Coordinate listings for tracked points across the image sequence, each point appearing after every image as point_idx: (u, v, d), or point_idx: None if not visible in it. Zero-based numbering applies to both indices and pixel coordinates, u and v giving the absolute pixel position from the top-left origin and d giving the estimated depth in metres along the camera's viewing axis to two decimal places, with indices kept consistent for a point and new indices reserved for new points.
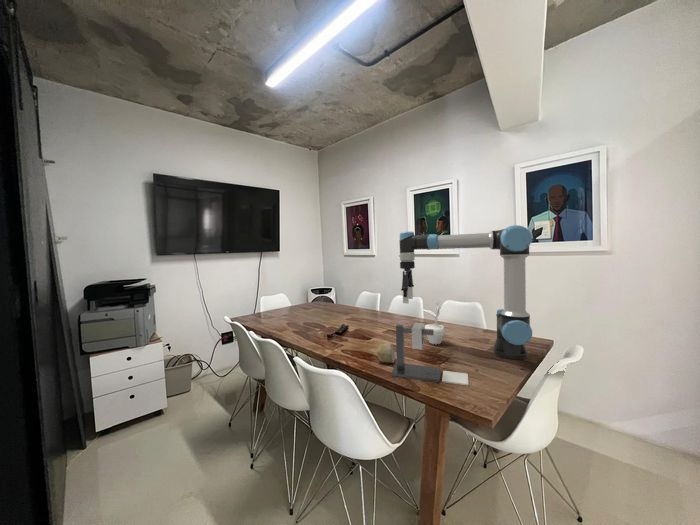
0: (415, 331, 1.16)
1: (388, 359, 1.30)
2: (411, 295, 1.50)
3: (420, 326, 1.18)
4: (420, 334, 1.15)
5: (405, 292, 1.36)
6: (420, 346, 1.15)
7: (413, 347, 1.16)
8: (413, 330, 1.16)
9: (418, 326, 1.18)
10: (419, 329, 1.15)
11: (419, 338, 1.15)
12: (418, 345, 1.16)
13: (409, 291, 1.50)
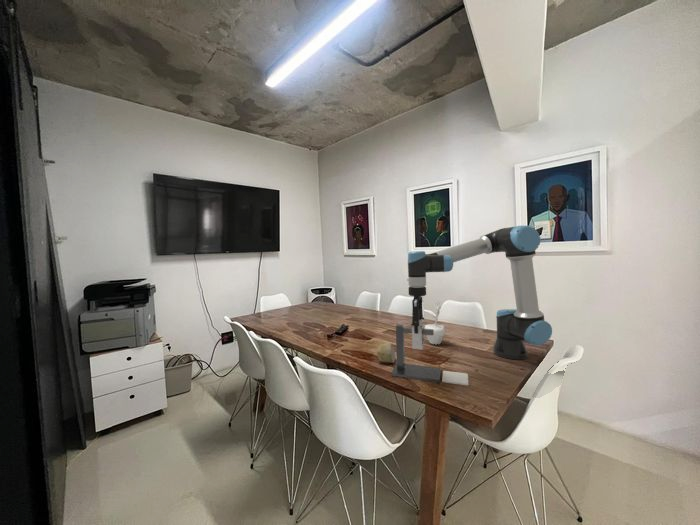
0: None
1: (388, 359, 1.30)
2: None
3: (420, 326, 1.18)
4: (420, 334, 1.15)
5: (416, 328, 1.14)
6: (420, 346, 1.15)
7: (413, 347, 1.16)
8: None
9: None
10: None
11: None
12: (418, 345, 1.16)
13: None
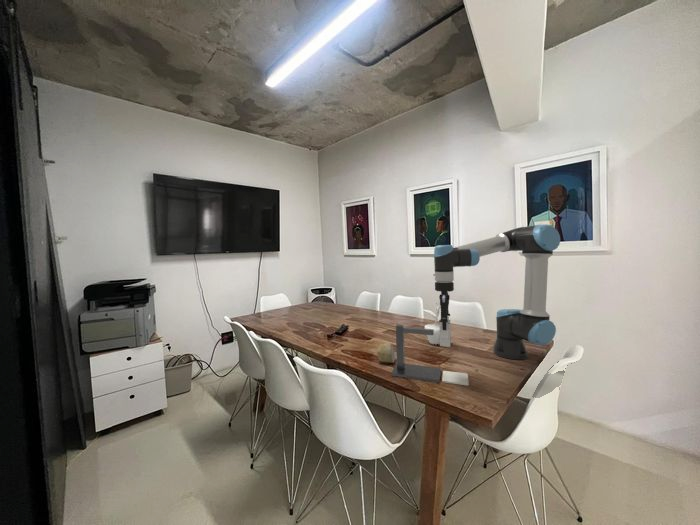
0: None
1: (388, 359, 1.30)
2: None
3: None
4: (448, 331, 1.11)
5: (444, 324, 1.10)
6: (448, 343, 1.11)
7: (441, 344, 1.12)
8: None
9: None
10: None
11: None
12: (446, 342, 1.11)
13: None
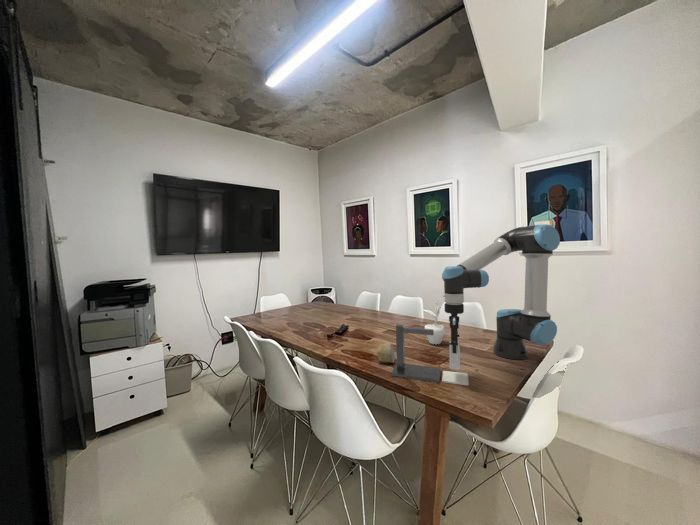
0: None
1: (388, 359, 1.30)
2: None
3: None
4: (458, 354, 1.10)
5: (455, 347, 1.08)
6: (458, 366, 1.10)
7: (450, 367, 1.11)
8: None
9: None
10: None
11: None
12: (456, 365, 1.10)
13: None
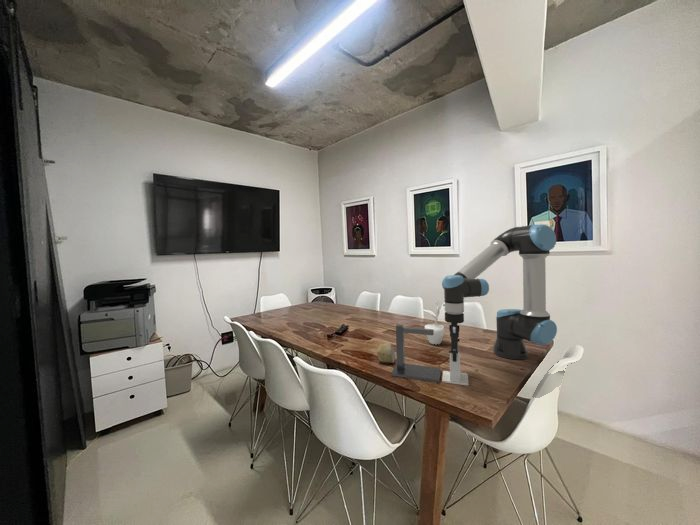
0: None
1: (388, 359, 1.30)
2: None
3: (458, 357, 1.13)
4: (459, 366, 1.10)
5: (455, 356, 1.07)
6: (459, 379, 1.10)
7: (451, 379, 1.11)
8: None
9: None
10: (458, 361, 1.10)
11: (457, 370, 1.10)
12: (457, 378, 1.10)
13: None
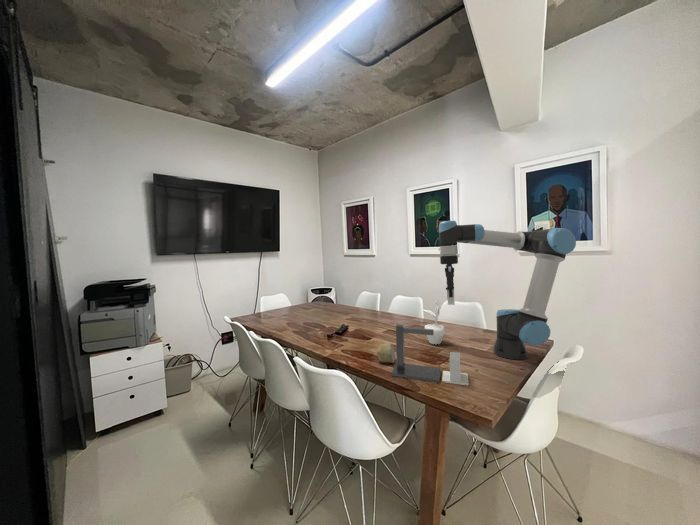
0: (453, 363, 1.11)
1: (388, 359, 1.30)
2: None
3: (458, 357, 1.13)
4: (459, 366, 1.10)
5: (451, 291, 1.16)
6: (459, 379, 1.10)
7: (451, 379, 1.11)
8: (451, 362, 1.11)
9: (455, 357, 1.13)
10: (458, 361, 1.10)
11: (457, 370, 1.10)
12: (457, 378, 1.10)
13: None
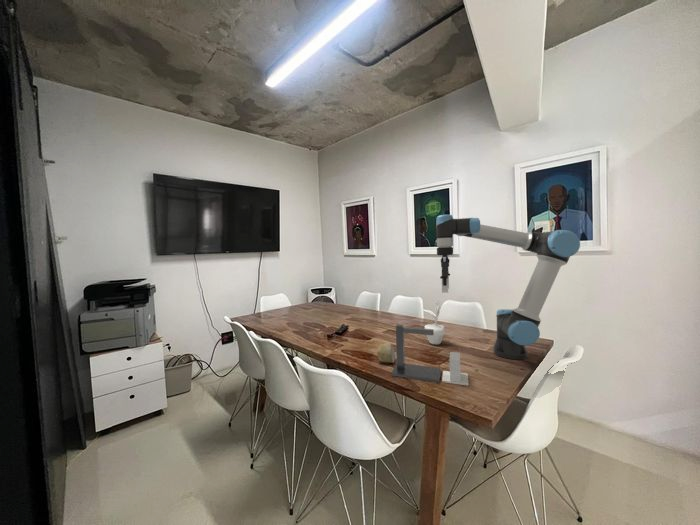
0: (453, 363, 1.11)
1: (388, 359, 1.30)
2: (447, 284, 1.39)
3: (458, 357, 1.13)
4: (459, 366, 1.10)
5: (445, 280, 1.25)
6: (459, 379, 1.10)
7: (451, 379, 1.11)
8: (451, 362, 1.11)
9: (455, 357, 1.13)
10: (458, 361, 1.10)
11: (457, 370, 1.10)
12: (457, 378, 1.10)
13: None
